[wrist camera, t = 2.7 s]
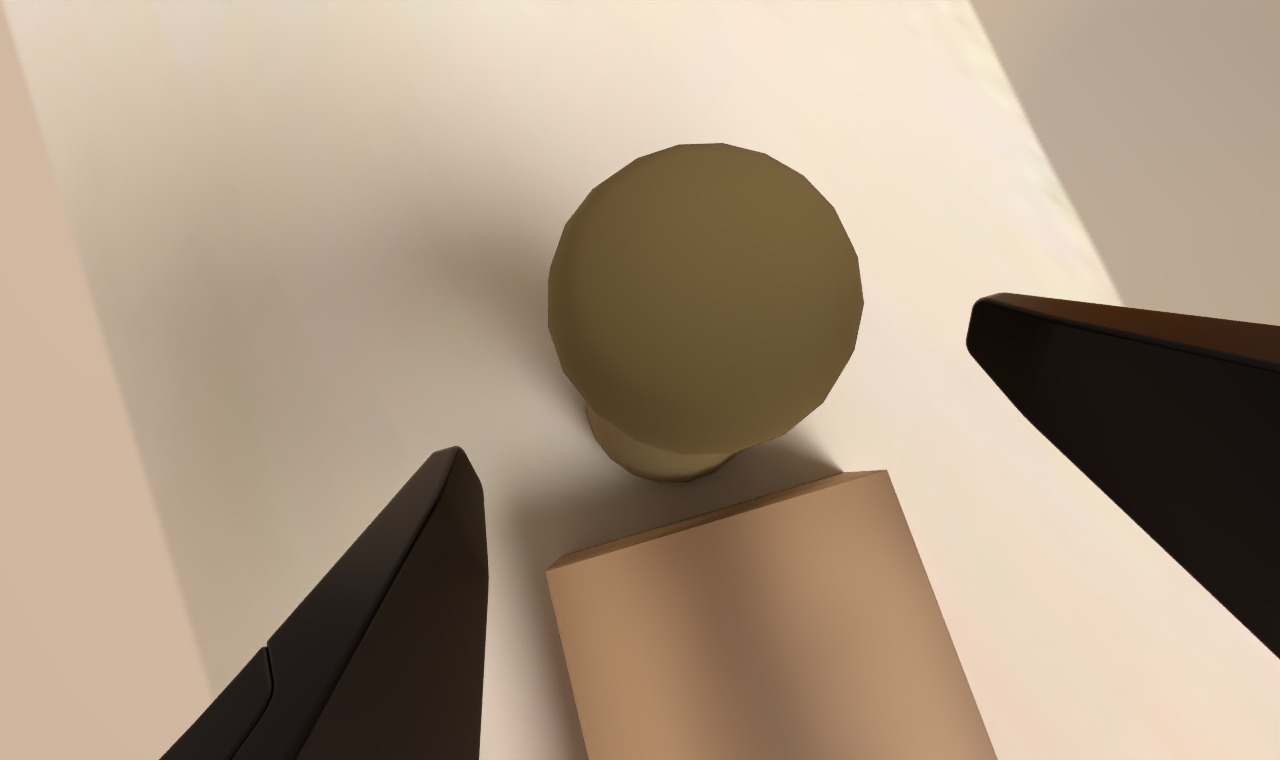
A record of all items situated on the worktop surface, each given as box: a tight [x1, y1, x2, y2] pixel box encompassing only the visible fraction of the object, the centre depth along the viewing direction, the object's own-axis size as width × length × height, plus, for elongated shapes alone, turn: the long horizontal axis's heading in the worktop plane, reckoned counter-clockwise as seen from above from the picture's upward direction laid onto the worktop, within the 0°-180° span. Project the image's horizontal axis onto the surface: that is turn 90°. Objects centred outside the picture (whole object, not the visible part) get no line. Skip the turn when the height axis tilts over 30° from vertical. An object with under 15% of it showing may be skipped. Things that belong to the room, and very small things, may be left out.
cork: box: [548, 143, 864, 483], centre depth 12 cm, size 6×6×11 cm
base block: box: [545, 470, 998, 760], centre depth 14 cm, size 10×10×3 cm
